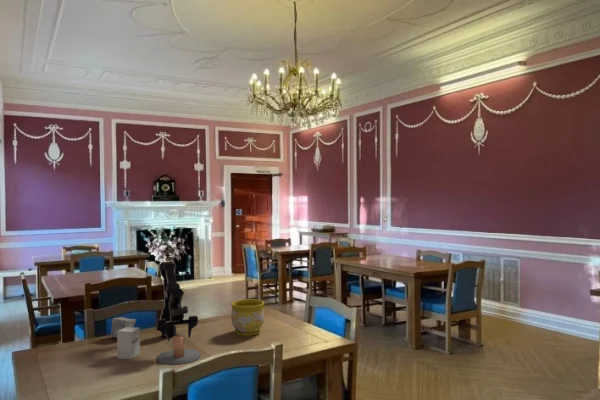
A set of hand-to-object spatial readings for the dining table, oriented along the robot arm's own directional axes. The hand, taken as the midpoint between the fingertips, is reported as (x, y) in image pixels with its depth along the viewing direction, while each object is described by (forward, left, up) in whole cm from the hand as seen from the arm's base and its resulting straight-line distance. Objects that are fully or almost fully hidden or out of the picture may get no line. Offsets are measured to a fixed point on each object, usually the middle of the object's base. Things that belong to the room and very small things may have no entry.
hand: (179, 339), depth 211 cm
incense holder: (-42, +23, -9) cm, 49 cm away
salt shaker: (-1, +1, -8) cm, 8 cm away
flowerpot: (+20, +43, -9) cm, 48 cm away
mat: (-1, +1, -9) cm, 9 cm away
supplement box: (-24, -2, -9) cm, 26 cm away
